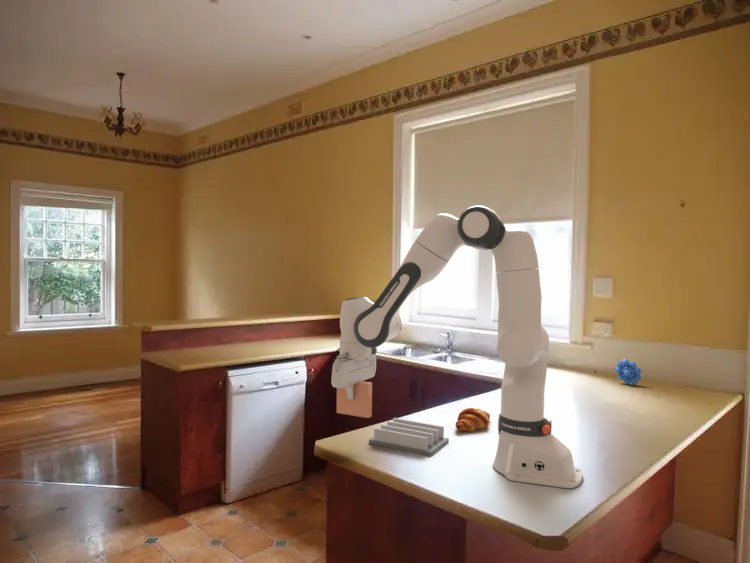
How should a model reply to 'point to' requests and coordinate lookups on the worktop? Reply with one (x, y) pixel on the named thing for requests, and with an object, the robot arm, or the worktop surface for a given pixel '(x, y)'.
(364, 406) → the plate tile
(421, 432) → the dish rack
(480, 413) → the croissant
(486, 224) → the robot arm
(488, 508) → the worktop surface
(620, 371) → the blue knobbly flower
